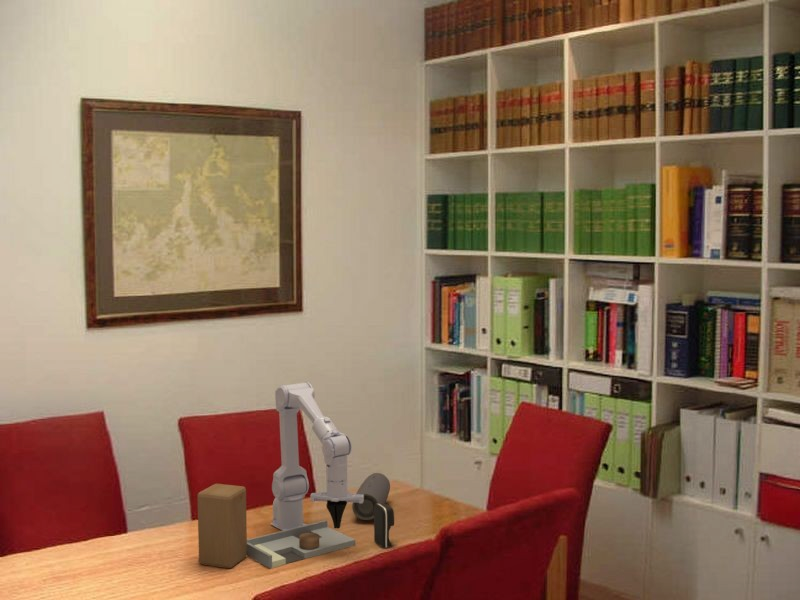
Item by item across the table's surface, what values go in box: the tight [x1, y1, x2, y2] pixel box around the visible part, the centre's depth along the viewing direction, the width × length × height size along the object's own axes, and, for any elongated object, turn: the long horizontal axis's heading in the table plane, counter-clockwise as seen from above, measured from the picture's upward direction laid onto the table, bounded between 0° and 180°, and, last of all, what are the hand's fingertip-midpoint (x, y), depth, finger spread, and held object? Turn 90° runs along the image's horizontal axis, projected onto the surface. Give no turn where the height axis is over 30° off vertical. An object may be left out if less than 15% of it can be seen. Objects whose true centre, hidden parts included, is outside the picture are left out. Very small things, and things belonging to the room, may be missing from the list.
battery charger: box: [373, 503, 395, 549], centre depth 280 cm, size 7×4×11 cm, turn 25°
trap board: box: [246, 520, 356, 569], centre depth 277 cm, size 15×28×3 cm, turn 128°
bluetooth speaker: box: [351, 472, 391, 521], centre depth 308 cm, size 23×9×10 cm, turn 172°
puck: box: [299, 533, 319, 550], centre depth 274 cm, size 6×6×3 cm
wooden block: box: [197, 483, 248, 569], centre depth 267 cm, size 10×10×20 cm
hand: (337, 527), depth 273 cm, fingers closed
